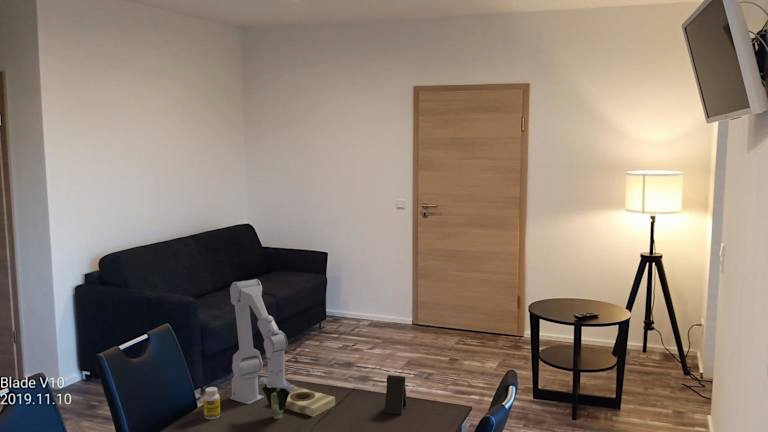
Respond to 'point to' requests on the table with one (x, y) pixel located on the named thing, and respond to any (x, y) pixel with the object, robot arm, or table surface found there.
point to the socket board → (309, 402)
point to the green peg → (275, 407)
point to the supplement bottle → (211, 403)
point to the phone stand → (395, 395)
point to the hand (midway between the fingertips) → (277, 408)
